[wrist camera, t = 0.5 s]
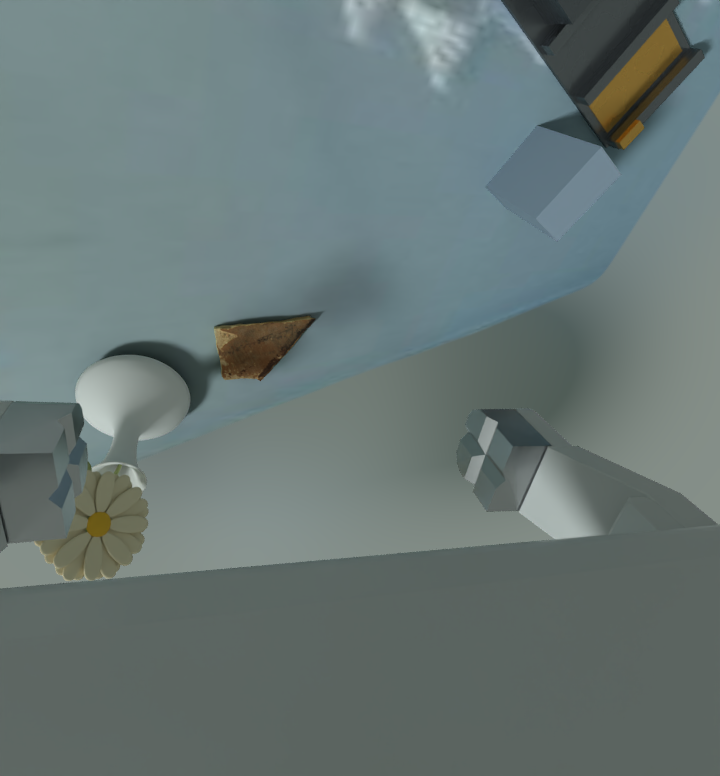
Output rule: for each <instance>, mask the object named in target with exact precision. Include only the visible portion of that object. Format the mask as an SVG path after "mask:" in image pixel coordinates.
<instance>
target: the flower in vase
mask: <svg viewBox="0 0 720 776" xmlns="http://www.w3.org/2000/svg"><path fill="white" fill-rule="evenodd" d="M75 396H76V401H77V403H79V404H80V406H81V407H82V412H83V417H84V418H85V419H86V420H87V421H88V422H89V423H90V424H91V425H92V426H93V427H95V428H96V429H98V430H99V431H101V432H103V433H105V434H107V435H110V436H112V437H113V441H112V444H111V448H110V450H109V452H108V454H107V456H106V457H105V459H104V460H103V461H102V462H101V463H100V464H98V465H96V466H94V467H92V468H91V465H90V463H89V462H88V468H87V475H86V482H85V485H84V488H83V491H82V493H81V494H80V495H78V496H77V497H76V498H74V499H75V506H76V512H75V515H74V518H73V521H72V523H71V526H70V529H69V532H68V535H67V538H65V539H54V540H42V541H34V543H35V545H36V546H38V547H40V552H41V553H42V554H43V555H45V561H46V562H47V563H48V564H52V563H53V564H54V566H55V567H56V568H55V569H56V573H58V574H59V575H63V578H64V579H65V580H66V581H71V580H73V579H74V580H80V579H82V578H83V576H84V575H85V578H86V579H87V580H89V581H93V580H95V579H100V578H102V577H103V576H104V577H105V578H108V579H110V578H112V577H114V576H115V574H116V572H117V571H118V570H119V568H120V565H123V566H127V565H129V564H130V563H131V562H132V558H133V556H132V554H136V553H138V552H139V551H140V550H141V548H142V544H143V543H144V536H143V535H142V534H141V532H143V531H144V530H145V529H146V528H147V526H148V521H147V519H146V518H145V517H146V516H147V514H148V509H147V506H148V503H147V501H146V500H145V499H140V498H141V495H142V492H143V490H144V489H145V487H146V485H147V479H146V476H145V474H144V472H143V471H142V470H141V469H140V468H139V467H138V465H137V459H136V452H137V443H138V440H148V439H153V438H157V437H160V436H162V435H165V434H167V433H169V432H170V431H172V430H173V429H175V428H176V427H177V426H178V425H179V424H180V423H181V421H182V420H183V419H184V418H185V416H186V414H187V413H188V410H189V407H190V392H189V389H188V387H187V385H186V383H185V381H184V380H183V379H182V377H181V376H180V375H179V374H178V373H177V372H176V371H175V370H173V369H172V368H171V367H169V366H167V365H166V364H164V363H162V362H160V361H158V360H155V359H153V358H150V357H145V356H140V355H117V356H112V357H108V358H105V359H102V360H100V361H97V362H96V363H94V364H92V365H91V366H89V367H88V368H87V369H86V370H85V371H84V372H83V373H82V374H81V376H80V377H79V379H78V381H77V384H76V389H75Z"/></svg>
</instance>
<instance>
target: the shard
mask: <svg viewBox="0 0 720 776" xmlns="http://www.w3.org/2000/svg"><path fill="white" fill-rule="evenodd" d="M314 321H315V318H311V317H310V316H305V317H297V318H292V319H288V320H283V321H274V322H273V321H271V322H264V323H253V324H236V325H222V326H219V327H218V326H217V327H214V331H215V336H216V345H217V350H218V354H219V358H220V363H221V374H222V377H223V379H224V380H231V379H240V378H249V379H251V378H252V379H258V380H260V381H261V380H262V379H263V378H264V377H265V376H266V374H268V373H269V372H270V371H271V370H272V368H273V366H274V365H276V364H277V363H278V362H279V361H280V359H281V358H282V357H283V356H284V355H285V354H286V353H287V352H288V351H289V350H290V349H291V347H292V346H293V345H294V344H295V343H296V341H297V340H298V339H299V338H300V336H301V334H302V333H303V332H304V331H305V330H306V329H307V328H308V327H309V326H311V324H312V323H313V322H314Z"/></svg>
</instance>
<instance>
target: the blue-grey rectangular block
mask: <svg viewBox="0 0 720 776" xmlns="http://www.w3.org/2000/svg"><path fill="white" fill-rule="evenodd" d="M621 175H622V174H621V173H620V172H619V170H618V169H617V167H616V166H615V165H614V163H613V162H612V160H611V159H610V158H609V156H608V155H607V153H606V152H605V151H604V149H603V148H602V147H601V146H598V145H595V144H592V143H589V142H586V141H583V140H580V139H577V138H574V137H571V136H568V135H565V134H562V133H559V132H556V131H553V130H550V129H547V128H543V127H540V126H536V127H535V129H534V130H533V131H532V132H531V133H530V135H529V136H528V137H527V138H526V139H525V140H524V142H523V143H522V144H521V145H520V146H519V148H518V149H517V150H516V151H515V152H514V153H513V155H512V156H511V157H510V158H509V159H508V161H507V162H506V163H505V164H504V165H503V166H502V168H501V169H500V170H499V171H498V172H497V174H496V175H495V176H494V177H493V178H492V180H491V181H490V182H489V183H488V184H487V185H486V189H487V190H488V191H489V192H490V193H491V194H492V195H493V196H494V197H495V198H496V199H497V200H498V201H499V202H500V203H501V204H502V205H503V206H504V207H505V208H506V209H508V210H509V211H511V212H513V213H514V214H516V215H517V216H519V217H520V218H522V219H523V220H525V221H526V222H528V223H529V224H531V225H532V226H534V227H535V228H537V229H539V230H540V231H542V232H543V233H545V234H546V235H548V236H549V237H551V238H552V239H554V240H555V241H558V240H559V239H560V238H561V237H562V236H563V235H564V234H565V233H566V232H567V231H568V230H569V229H570V228H571V227H572V226H573V225H574V224H575V223H576V222H577V221H578V220H579V218H580V217H581V216H582V215H583V214H584V213H585V212H586V211H587V210H588V209H589V208H590V207H591V206H592V205H593V204H594V203H595V202H596V201H597V200H598V199H599V198H600V197H601V195H602V194H603V193H604V192H605V191H606V190H607V189H608V188H609V187H610V186H611V185H612V184H613V183H614V182H615V181H616V180H617V179H618V178H619V177H620V176H621Z"/></svg>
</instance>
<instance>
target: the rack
mask: <svg viewBox="0 0 720 776" xmlns="http://www.w3.org/2000/svg"><path fill="white" fill-rule="evenodd" d="M501 1H502V2H503V4H504V5H505V6H506V8H507V9H508V11H509V12H510V13H511V15H512V16H513V18H514V19H515V21H516V22H517V23H518V25H519V26H520V28H521V29H522V30H523V32H524V33H525V35H526V36H527V38H528V39H529V40H530V42H531V43H532V45H533V46H534V47H535V49H536V50H537V52H538V53H539V55H540V56H541V57H542V59H543V60H544V62H545V63H546V64H547V66H548V67H549V69H550V70H551V71H552V73H553V74H554V76H555V77H556V79H557V80H558V81H559V83H560V84H561V86H562V87H563V88H564V90H565V91H566V93H567V94H568V96H569V97H570V98H571V100H572V101H573V103H574V104H575V105H576V107H577V108H578V110H579V111H580V113H581V114H582V115H583V117H584V118H585V120H586V121H587V122H588V124H589V125H590V127H591V128H592V129H593V131H594V132H595V134H596V135H597V137H598V138H599V139H600V141H601V142H602V144H603V145H604V146H605V147H606V148H608V147H609V146H610V147H613V148H617V149H623V150H624V149H625V148H626V147H627V146H628V145H629V144H630V143H631V142H632V141H633V140H634V139H635V137H636V136H637V135H638V134H639V133H640V132H641V131H642V130H643V129H644V126H643V123H644V122H645V121H646V120H647V119H648V118H649V117H650V116H651V115H652V114H653V113H654V111H655V110H656V109H657V108H658V107H659V106H660V105H661V104H662V103H663V102H664V101H665V100H666V99H667V98H668V96H669V95H670V94H671V93H672V92H673V91H674V90H675V89H676V88H677V87H678V86H679V85H680V84H681V83H682V81H683V80H684V79H685V78H686V77H687V76H688V75H689V74H690V73H691V72H692V71H693V70H694V69H695V68H696V66H697V65H698V64H699V63H700V62H701V61H702V60H703V59H704V58H705V57H704V54H703V52H702V50H701V49H693V48H690V47H689V44H688V42H687V40H686V38H685V36H684V34H683V32H682V30H681V28H680V26H679V24H678V22H677V20H676V18H675V15H674V13H673V10H674V9H675V8H676V6H677V5H678V4H679V1H678V0H501Z"/></svg>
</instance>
